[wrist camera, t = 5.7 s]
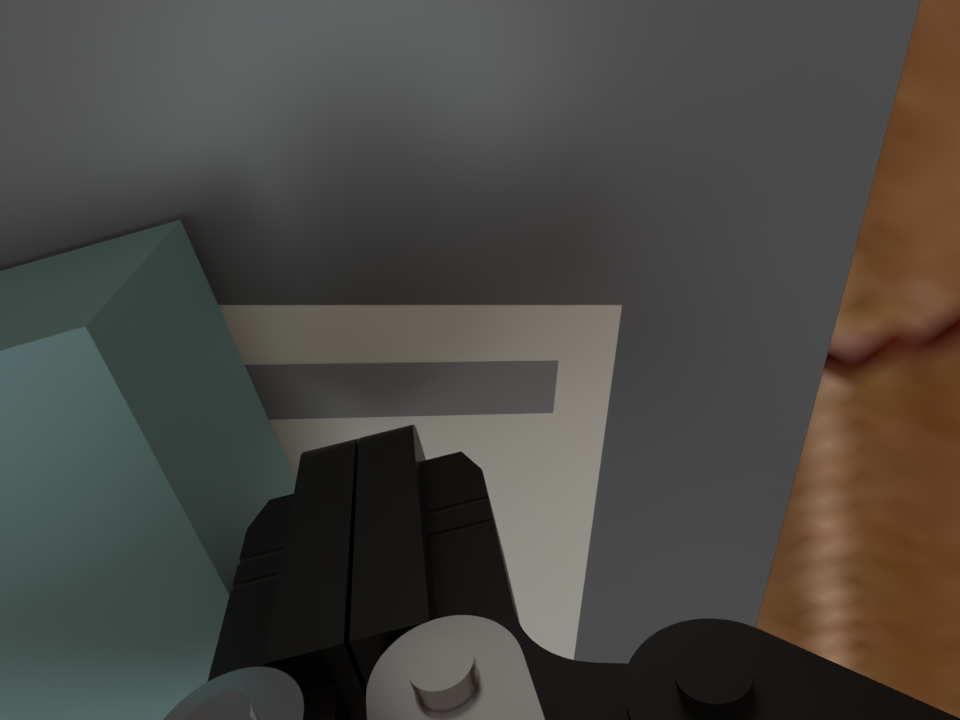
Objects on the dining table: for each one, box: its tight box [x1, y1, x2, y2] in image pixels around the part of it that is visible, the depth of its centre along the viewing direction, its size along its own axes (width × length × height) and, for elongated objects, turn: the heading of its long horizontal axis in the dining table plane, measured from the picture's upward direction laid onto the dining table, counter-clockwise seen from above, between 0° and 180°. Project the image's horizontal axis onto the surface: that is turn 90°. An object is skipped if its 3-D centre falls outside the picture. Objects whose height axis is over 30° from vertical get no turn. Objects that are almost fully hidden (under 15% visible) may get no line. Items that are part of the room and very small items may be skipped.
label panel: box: [0, 0, 920, 664], centre depth 11 cm, size 16×28×1 cm, turn 177°
